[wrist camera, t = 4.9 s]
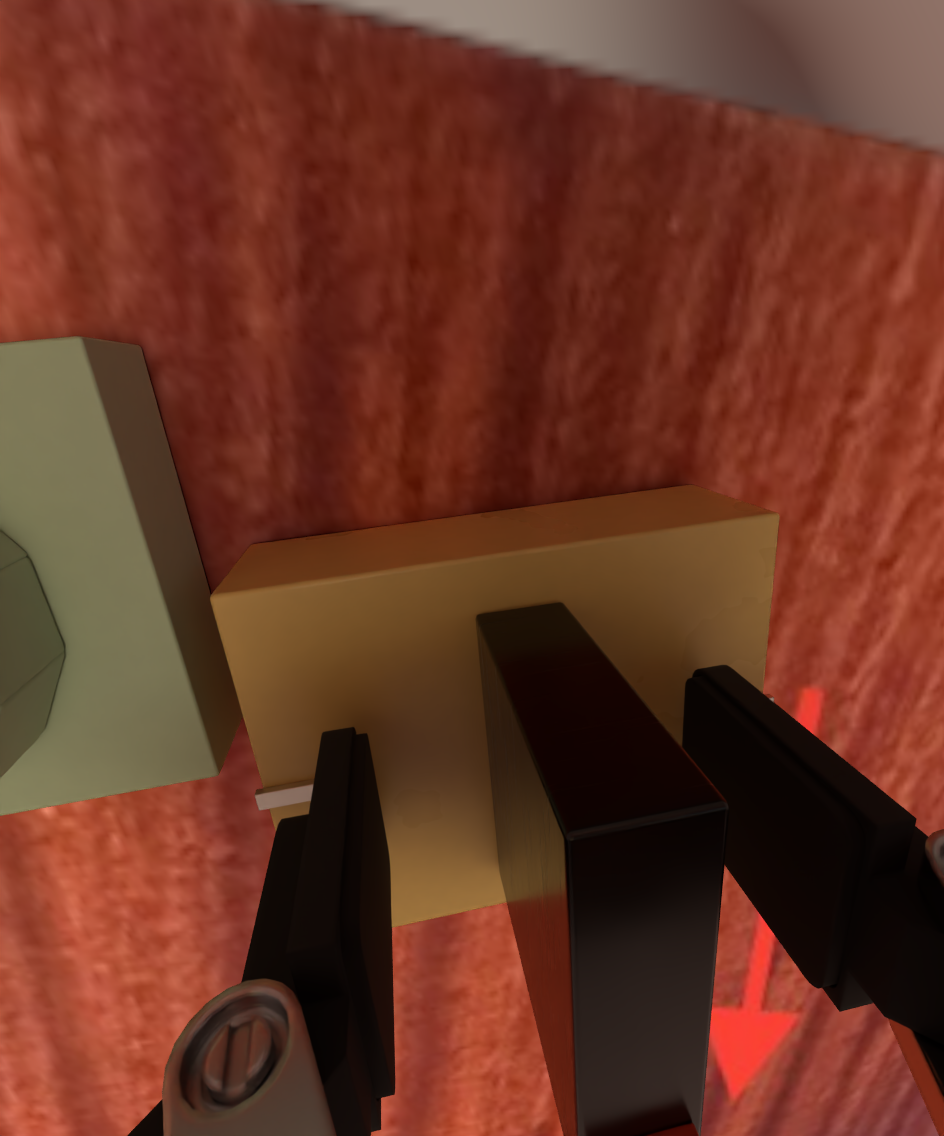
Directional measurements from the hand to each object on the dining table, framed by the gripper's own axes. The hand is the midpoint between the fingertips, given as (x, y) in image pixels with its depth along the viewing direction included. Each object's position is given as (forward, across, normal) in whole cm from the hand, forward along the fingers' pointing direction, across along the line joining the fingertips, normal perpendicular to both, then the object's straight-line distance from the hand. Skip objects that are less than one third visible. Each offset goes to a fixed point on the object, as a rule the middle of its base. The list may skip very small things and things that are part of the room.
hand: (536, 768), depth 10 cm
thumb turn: (+1, 0, 0) cm, 1 cm away
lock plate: (+4, 0, 0) cm, 4 cm away
